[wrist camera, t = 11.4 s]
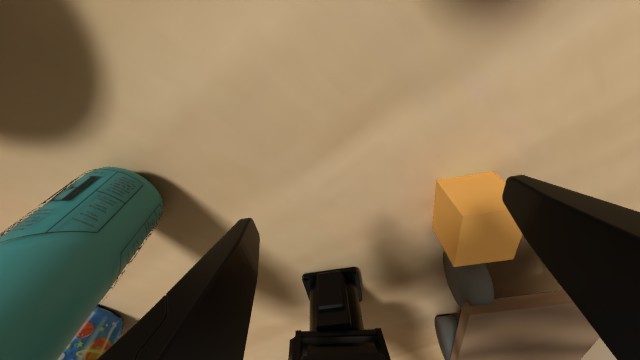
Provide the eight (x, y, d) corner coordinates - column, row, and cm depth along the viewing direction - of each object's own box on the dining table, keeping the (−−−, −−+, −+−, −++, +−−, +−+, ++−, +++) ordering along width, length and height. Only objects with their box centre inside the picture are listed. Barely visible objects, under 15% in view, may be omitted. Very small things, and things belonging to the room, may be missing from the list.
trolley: (526, 322, 38) (604, 435, 28) (429, 333, 39) (470, 446, 29) (580, 216, 26) (746, 344, 16) (440, 236, 27) (515, 368, 17)
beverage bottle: (124, 140, 20) (-743, 743, 4) (190, 195, 23) (-108, 654, 7) (78, 179, 22) (-633, 694, 5) (145, 225, 25) (-177, 643, 9)
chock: (481, 219, 26) (513, 259, 22) (431, 226, 27) (453, 267, 22) (492, 170, 23) (532, 206, 19) (435, 179, 23) (462, 216, 19)
